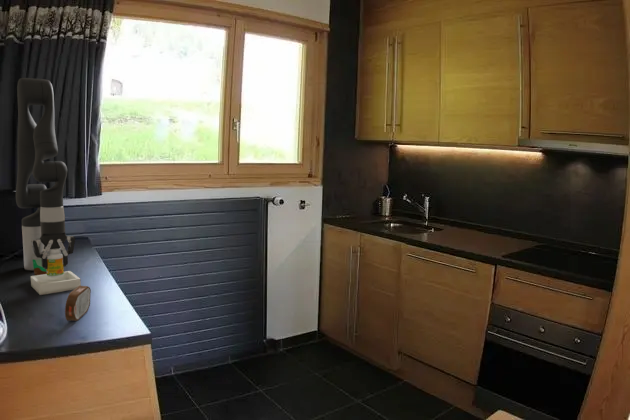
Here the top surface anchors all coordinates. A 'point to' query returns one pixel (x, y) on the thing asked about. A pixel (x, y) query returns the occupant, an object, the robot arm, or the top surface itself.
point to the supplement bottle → (55, 263)
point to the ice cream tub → (38, 265)
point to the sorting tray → (55, 283)
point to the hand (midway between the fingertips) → (54, 267)
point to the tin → (77, 303)
